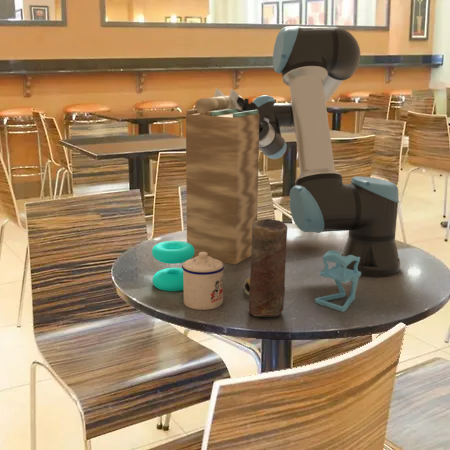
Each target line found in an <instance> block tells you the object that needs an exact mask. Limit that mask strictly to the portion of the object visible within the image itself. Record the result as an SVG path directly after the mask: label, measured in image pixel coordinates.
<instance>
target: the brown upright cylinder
mask: <svg viewBox="0 0 450 450" xmlns="http://www.w3.org/2000/svg"><path fill="white" fill-rule="evenodd" d="M287 240H288V226H287V224H286V223H284V222H283V221H282V220H279V219H271V218H263V219H257V221H255V222H254V224H253V228H252V249H251V256H250V274H249V275H250V277H249V279H250V291H249V296H248V313H250V314H251V315H252V316H254V317H266V318H274V317H275V318H276V317H277V316H279V315H280V314H282V313H283V311H284V304H285V303H284V302H285V301H284V300H285V292H284V287H285V284H286V283H285V282H286V263H287V262H286V260H287V259H286V258H287V257H286V256H287Z"/></svg>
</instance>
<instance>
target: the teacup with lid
mask: <svg viewBox="0 0 450 450" xmlns="http://www.w3.org/2000/svg"><path fill="white" fill-rule="evenodd" d="M181 268H182V269H183V281H184V290H183V304H184V305H185V306H186V307H188V309H193V310H196V311H197V310H199V311H201V310H203V311H207V310H213V309H216V308H219V307H220V306H221V305H222V304H223V301H224V300H223V299H224V293H223V292H224V291H223V290H224V269H225V265H224V262H221V261H220V260H217V259H214V258H212V257H210V256H208V253H207V252H200V253H199V256H197V257H192V258H191V259H189V260H187V261H185V262H183V263H182V266H181Z"/></svg>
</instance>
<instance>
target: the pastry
mask: <svg viewBox="0 0 450 450" xmlns="http://www.w3.org/2000/svg"><path fill="white" fill-rule="evenodd" d="M242 288H243V290H244V293H245V294H247V296H248V297H249V291H250V278H246V279H245V281H244V284H243V287H242ZM285 291H286V287H285V286H284V293H285Z"/></svg>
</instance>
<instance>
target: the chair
mask: <svg viewBox="0 0 450 450" xmlns="http://www.w3.org/2000/svg"><path fill="white" fill-rule="evenodd" d="M352 261H356V263H355V265H354V270H350V269H347V268H346V267H347V266H348V265H349V264H350V263H351V262H352ZM359 261H360V257H356V256H353V255H348V256H342V253H341V252H340V251H336V250H332V249H331V250H328V251H326V252H325V253H324V255H322V262H323V265H324V269H323V270H322V271H320V272H319V276H320V277H324V278H329V279H332V280H334V282H335V284H336V286H337V288H338V290H339V292H337V293H332V294H329V295H324V296H318V297H316V298H314V303H315V304H317V305H321V306H323V307H327V308H331V309H334V310H337V311H340V312H346V311H347V310H348V309H349V307H350V306H351V304H352V303H353V302H354V301H355V300H356V291H357V287H358V283H359V279H360V277H362V276H361V272H359V271H358V268H357V267H358V264H359ZM328 262H330V263H335V265H334V266H332V267H330V268H329V264H328ZM340 265H342V266H343V267H341V266H340ZM348 282H351V287H350V293H349V296H348V298H347V299H346V301H345V303H344V304H343V305H339V304H336V303H333V302H330V301H332V300H337V299H341V298H345V297H346V296H347V294H346V292H347V291H346V290H345V288H344V287H343V284H342V283H344V284H345V283H346V284H347V283H348Z"/></svg>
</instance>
